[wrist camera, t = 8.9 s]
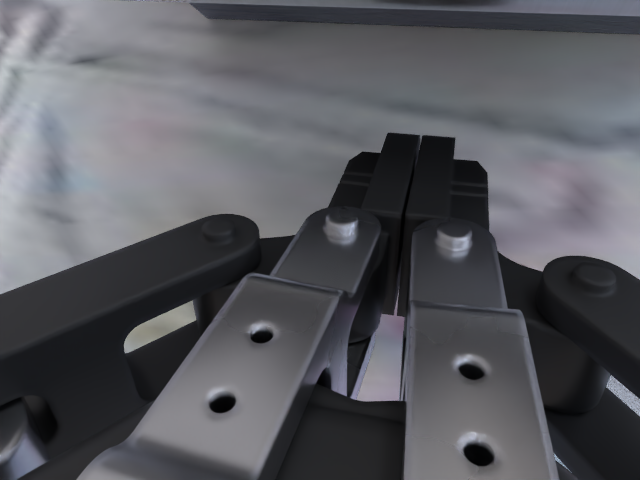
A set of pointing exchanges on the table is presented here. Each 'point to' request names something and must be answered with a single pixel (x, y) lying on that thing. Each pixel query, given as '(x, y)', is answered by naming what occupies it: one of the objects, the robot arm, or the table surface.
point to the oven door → (439, 13)
